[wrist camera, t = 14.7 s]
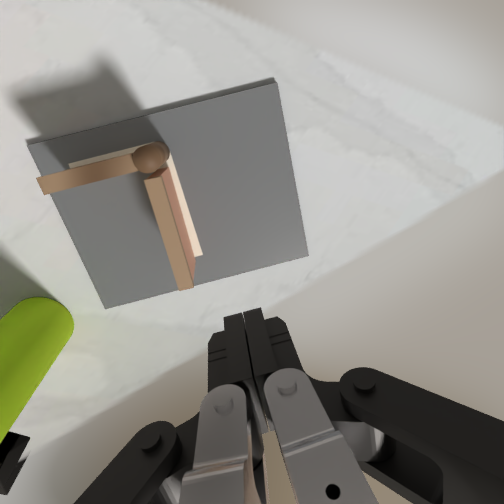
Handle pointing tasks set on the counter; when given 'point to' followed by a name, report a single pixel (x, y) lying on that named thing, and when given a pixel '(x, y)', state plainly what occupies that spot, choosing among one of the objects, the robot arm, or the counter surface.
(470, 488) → the robot arm
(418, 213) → the counter surface
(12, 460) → the black block
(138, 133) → the card
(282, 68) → the counter surface
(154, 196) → the hinged fence section
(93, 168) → the fixed fence section
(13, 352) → the soap dispenser
